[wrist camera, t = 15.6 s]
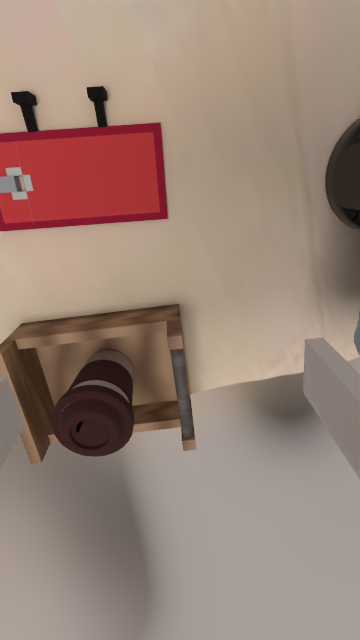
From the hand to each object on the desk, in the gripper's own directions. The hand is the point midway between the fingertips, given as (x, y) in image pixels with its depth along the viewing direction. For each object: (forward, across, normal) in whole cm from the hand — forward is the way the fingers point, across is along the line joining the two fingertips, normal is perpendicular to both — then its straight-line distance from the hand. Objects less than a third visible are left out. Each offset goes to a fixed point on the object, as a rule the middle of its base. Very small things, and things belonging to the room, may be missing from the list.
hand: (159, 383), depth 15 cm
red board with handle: (+35, +14, -12) cm, 40 cm away
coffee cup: (+34, +11, +18) cm, 40 cm away
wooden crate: (+35, +11, +18) cm, 41 cm away
